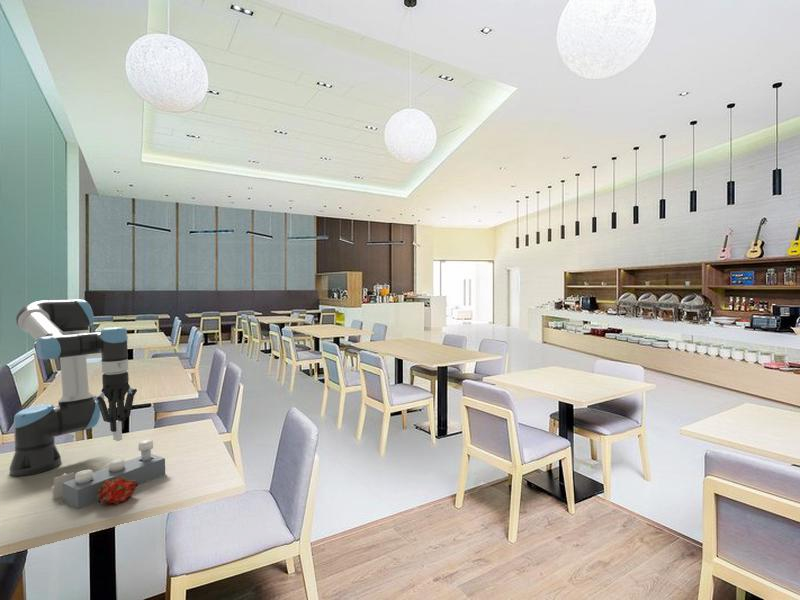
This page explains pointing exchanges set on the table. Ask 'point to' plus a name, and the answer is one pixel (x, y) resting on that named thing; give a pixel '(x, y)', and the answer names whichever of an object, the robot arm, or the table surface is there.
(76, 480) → the knob near
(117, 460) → the knob mid
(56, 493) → the architectural model
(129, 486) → the dragon fruit
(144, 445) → the knob far
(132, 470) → the mount
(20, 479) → the table surface
